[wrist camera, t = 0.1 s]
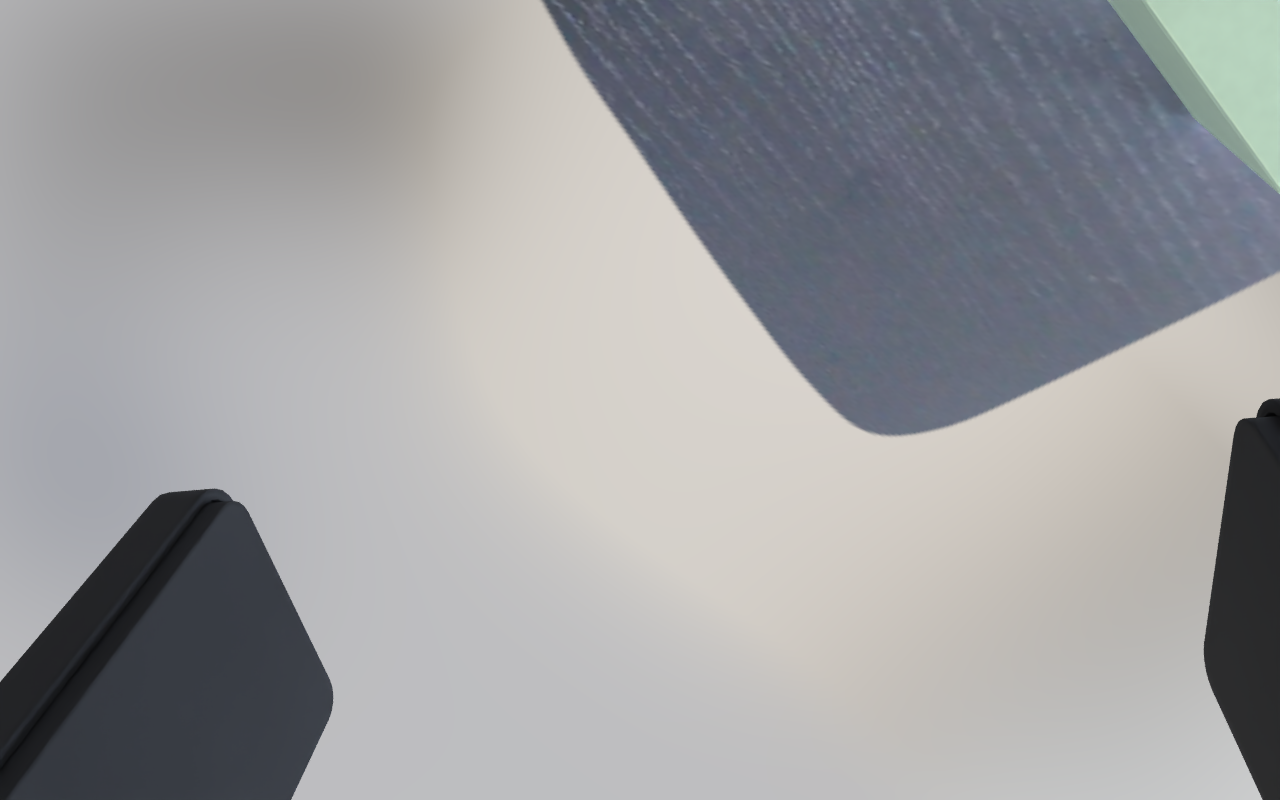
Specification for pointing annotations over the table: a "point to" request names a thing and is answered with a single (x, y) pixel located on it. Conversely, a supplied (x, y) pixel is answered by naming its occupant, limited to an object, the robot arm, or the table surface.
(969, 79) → the table surface
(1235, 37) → the lid
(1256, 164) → the green hinged box
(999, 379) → the table surface
